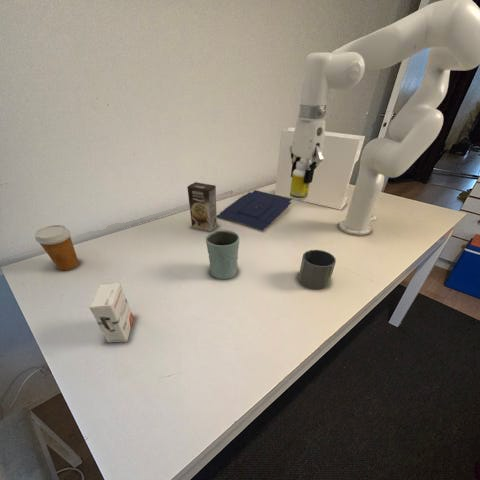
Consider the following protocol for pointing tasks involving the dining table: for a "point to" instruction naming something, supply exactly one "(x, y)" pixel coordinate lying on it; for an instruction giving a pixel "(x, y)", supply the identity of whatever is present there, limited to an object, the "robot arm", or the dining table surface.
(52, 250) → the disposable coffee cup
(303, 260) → the steel cup
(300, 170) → the pill bottle
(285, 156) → the block
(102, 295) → the ink box
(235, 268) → the teal cup
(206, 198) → the coffee box
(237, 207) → the folded navy cloth
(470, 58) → the robot arm
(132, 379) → the dining table surface
